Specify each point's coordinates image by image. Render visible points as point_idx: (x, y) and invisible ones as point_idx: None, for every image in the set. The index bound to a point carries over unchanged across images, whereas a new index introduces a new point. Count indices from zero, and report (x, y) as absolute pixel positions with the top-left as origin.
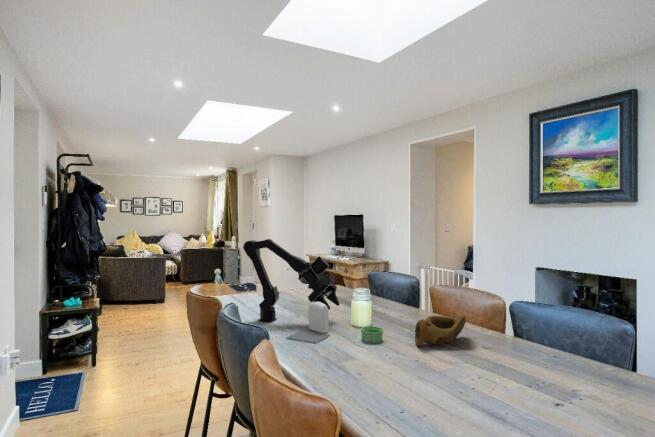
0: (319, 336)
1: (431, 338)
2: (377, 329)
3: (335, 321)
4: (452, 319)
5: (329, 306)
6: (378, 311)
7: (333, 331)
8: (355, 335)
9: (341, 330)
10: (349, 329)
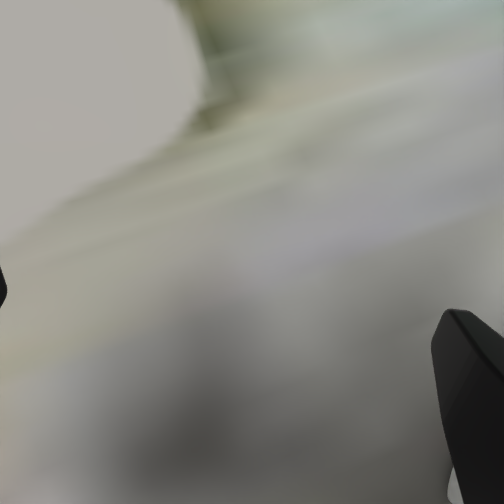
0: None
1: None
2: None
3: (77, 362)
4: None
5: (476, 332)
6: None
7: (477, 239)
8: (500, 15)
9: (405, 177)
10: (336, 118)
